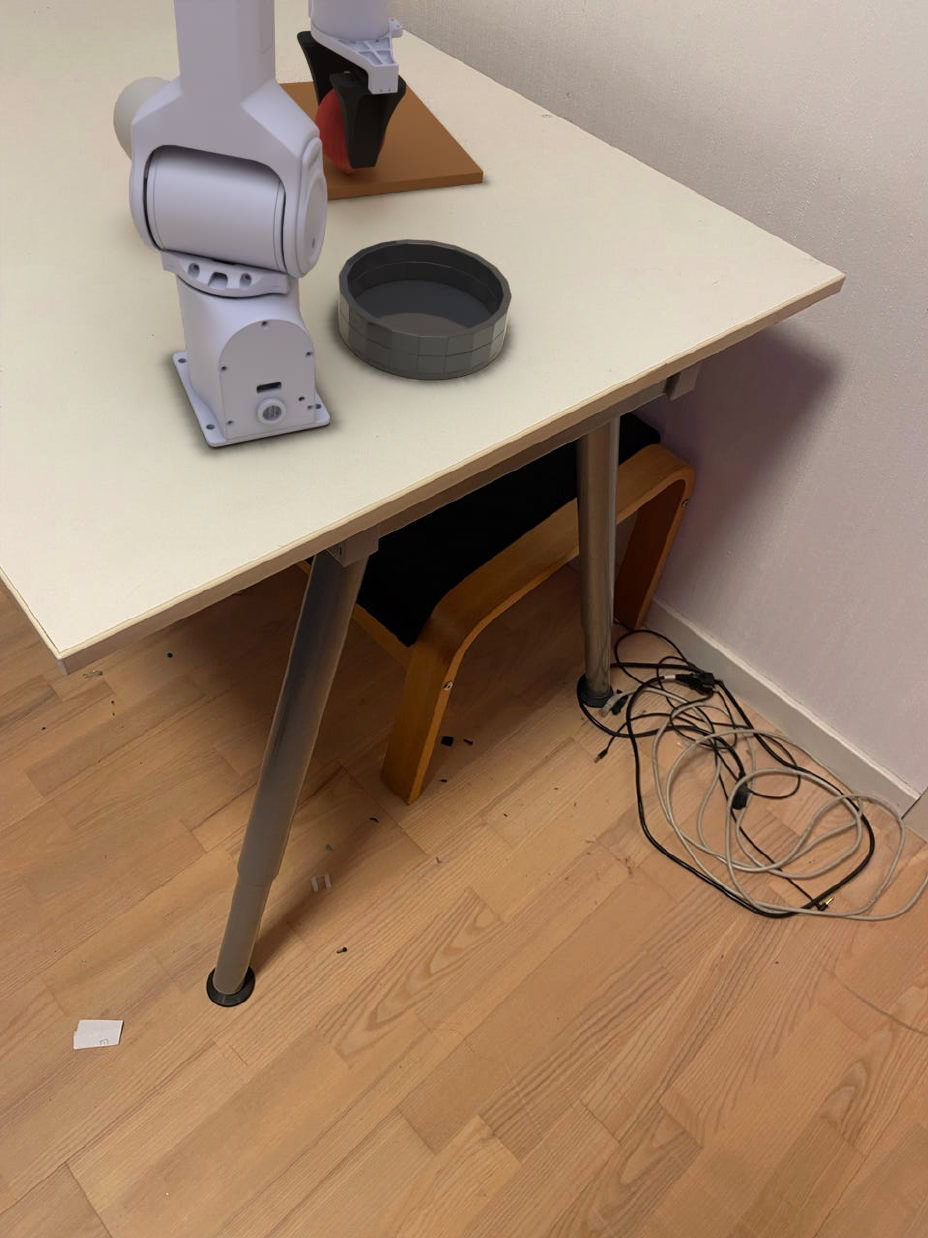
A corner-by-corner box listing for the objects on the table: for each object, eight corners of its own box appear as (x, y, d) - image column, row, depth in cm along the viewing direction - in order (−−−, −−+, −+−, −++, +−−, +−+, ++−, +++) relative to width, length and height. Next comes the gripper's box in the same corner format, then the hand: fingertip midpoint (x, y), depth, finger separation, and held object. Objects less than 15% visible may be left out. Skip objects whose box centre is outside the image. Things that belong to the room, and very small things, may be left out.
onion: (388, 163, 81) (393, 64, 74) (377, 194, 77) (382, 93, 71) (322, 152, 80) (321, 52, 74) (308, 183, 77) (307, 81, 71)
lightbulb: (134, 253, 69) (107, 99, 61) (130, 211, 73) (104, 60, 64) (217, 250, 71) (202, 100, 62) (209, 209, 74) (194, 62, 66)
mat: (482, 182, 82) (483, 171, 82) (311, 201, 77) (311, 189, 76) (398, 85, 93) (399, 74, 92) (243, 96, 88) (242, 85, 87)
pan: (531, 363, 67) (540, 321, 64) (374, 393, 62) (376, 349, 60) (462, 271, 73) (467, 230, 70) (315, 293, 69) (315, 250, 66)
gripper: (442, -7, 64) (426, 185, 75) (368, -79, 72) (363, 105, 82) (347, -4, 62) (344, 194, 72) (280, -78, 69) (287, 111, 80)
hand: (349, 147), depth 77 cm, fingers closed on onion, 6 cm apart
